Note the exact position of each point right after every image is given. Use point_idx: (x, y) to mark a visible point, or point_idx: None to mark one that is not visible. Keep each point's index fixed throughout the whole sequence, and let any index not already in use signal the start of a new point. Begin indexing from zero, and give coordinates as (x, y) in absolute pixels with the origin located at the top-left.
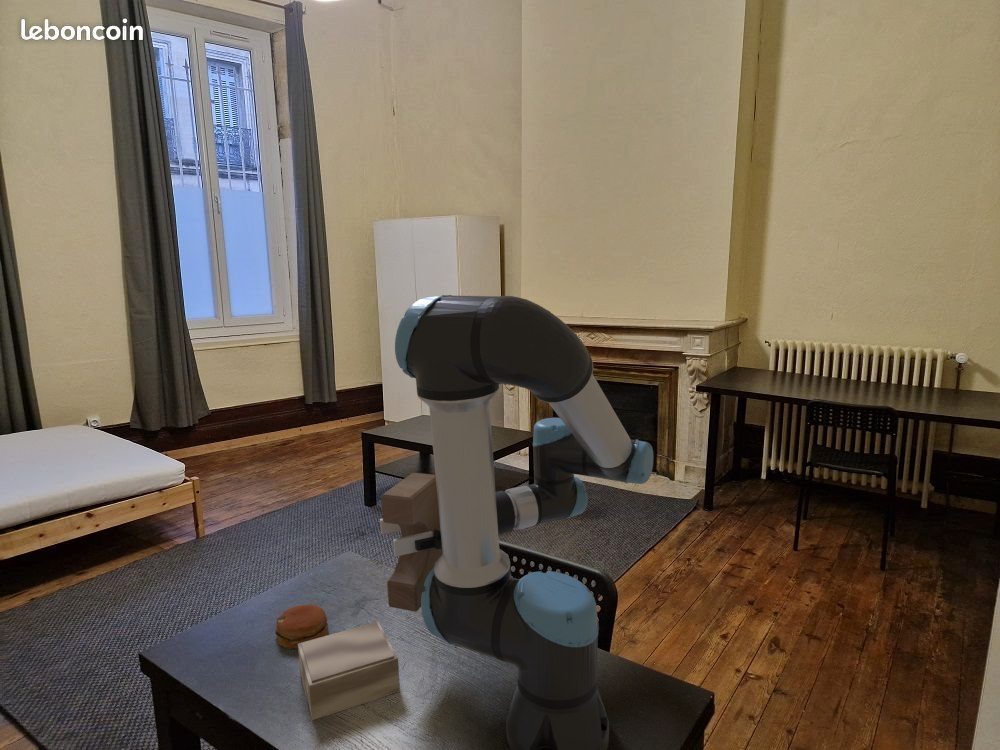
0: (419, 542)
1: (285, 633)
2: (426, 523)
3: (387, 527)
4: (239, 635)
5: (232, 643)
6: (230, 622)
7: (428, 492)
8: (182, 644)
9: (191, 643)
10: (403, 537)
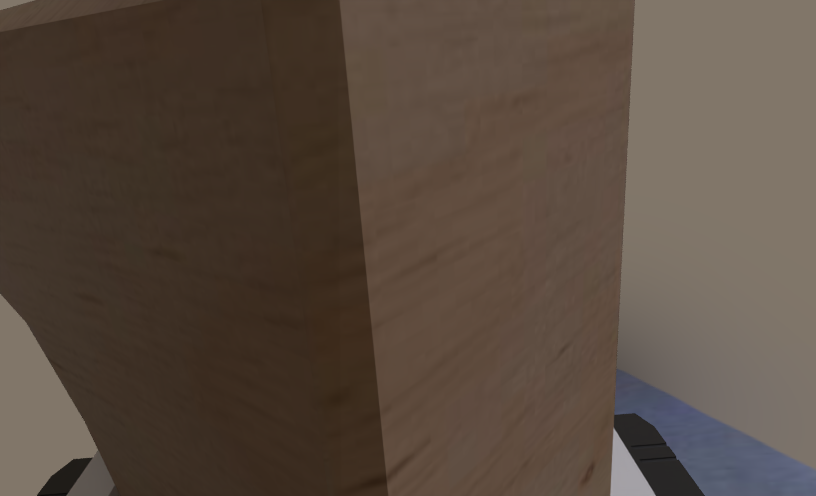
0: (57, 475)
1: None
2: (103, 445)
3: None
4: None
5: None
6: (729, 441)
7: (50, 126)
8: (640, 388)
9: (643, 398)
10: None
